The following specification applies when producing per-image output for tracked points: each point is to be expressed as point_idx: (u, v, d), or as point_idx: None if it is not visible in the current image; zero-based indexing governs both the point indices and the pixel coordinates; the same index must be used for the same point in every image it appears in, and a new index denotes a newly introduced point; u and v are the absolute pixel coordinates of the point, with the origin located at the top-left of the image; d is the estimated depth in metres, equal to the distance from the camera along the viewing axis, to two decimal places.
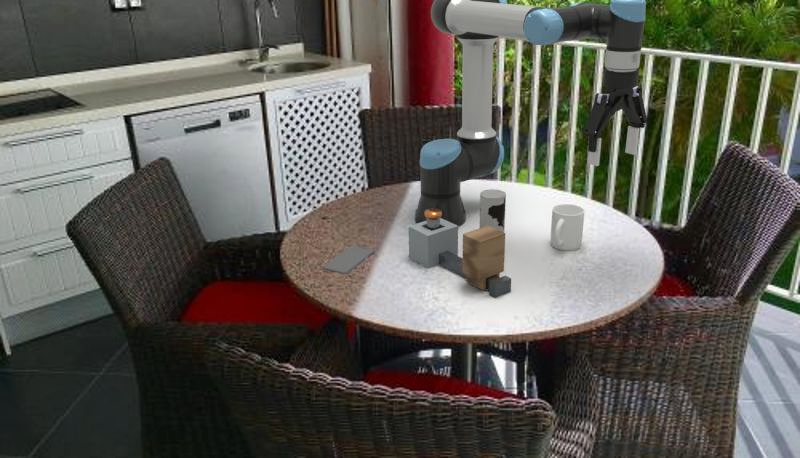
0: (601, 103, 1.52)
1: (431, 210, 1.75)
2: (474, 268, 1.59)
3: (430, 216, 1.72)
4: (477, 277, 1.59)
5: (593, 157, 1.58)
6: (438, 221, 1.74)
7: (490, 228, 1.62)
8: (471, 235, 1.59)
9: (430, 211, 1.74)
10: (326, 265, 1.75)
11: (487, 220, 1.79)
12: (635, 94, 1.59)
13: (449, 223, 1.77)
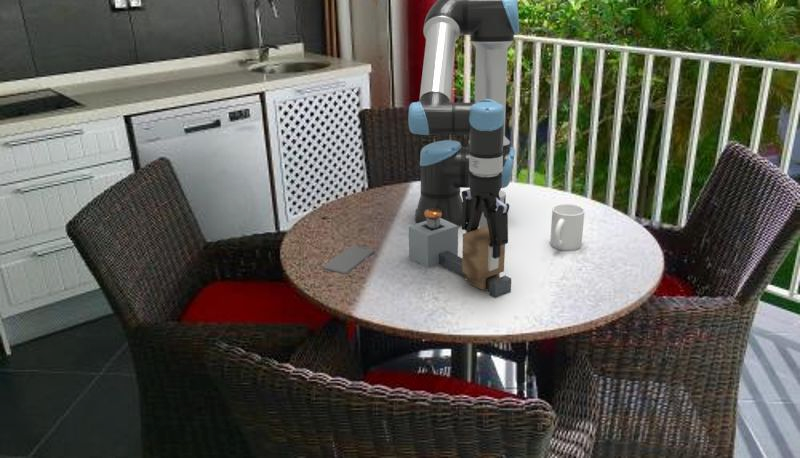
0: None
1: (431, 210, 1.75)
2: (474, 268, 1.59)
3: (430, 216, 1.72)
4: (477, 277, 1.59)
5: None
6: (438, 221, 1.74)
7: None
8: (471, 235, 1.59)
9: (430, 211, 1.74)
10: (326, 265, 1.75)
11: None
12: None
13: (449, 223, 1.77)
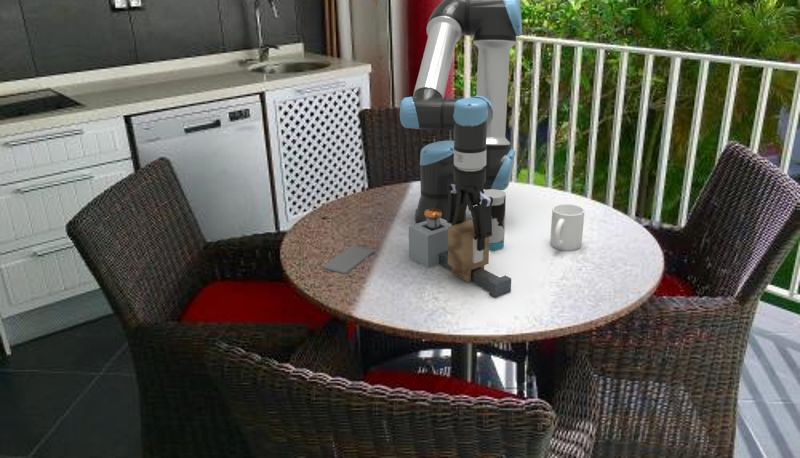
0: None
1: (431, 210, 1.75)
2: (459, 260, 1.63)
3: (430, 216, 1.72)
4: (462, 269, 1.63)
5: None
6: (438, 221, 1.74)
7: None
8: (456, 228, 1.63)
9: (430, 211, 1.74)
10: (326, 265, 1.75)
11: None
12: (481, 202, 1.57)
13: (449, 223, 1.77)
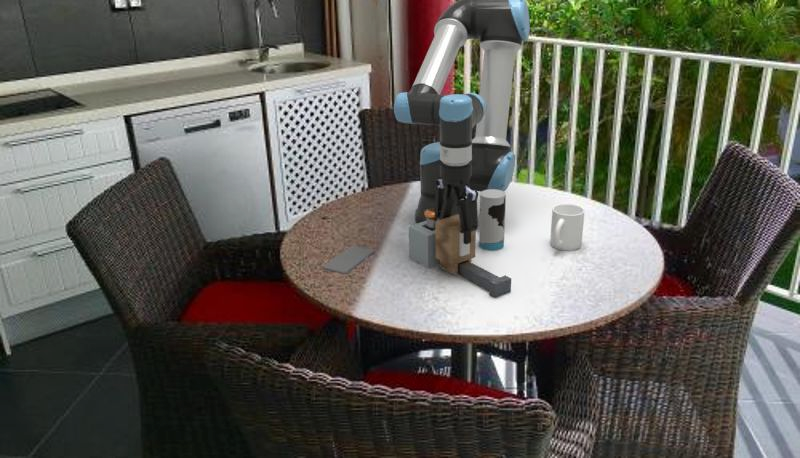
0: None
1: (431, 210, 1.75)
2: (446, 254, 1.67)
3: (430, 216, 1.72)
4: (449, 262, 1.67)
5: None
6: None
7: None
8: (443, 222, 1.67)
9: (430, 211, 1.74)
10: (326, 265, 1.75)
11: (487, 220, 1.79)
12: (467, 196, 1.60)
13: None
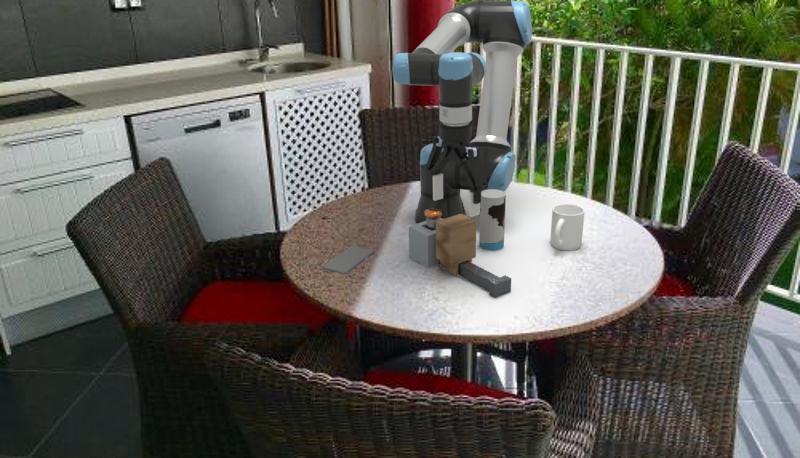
0: None
1: (431, 210, 1.75)
2: (447, 254, 1.67)
3: (430, 216, 1.72)
4: (449, 262, 1.67)
5: None
6: None
7: (462, 216, 1.70)
8: (444, 222, 1.66)
9: (430, 211, 1.74)
10: (326, 265, 1.75)
11: (487, 220, 1.79)
12: None
13: None
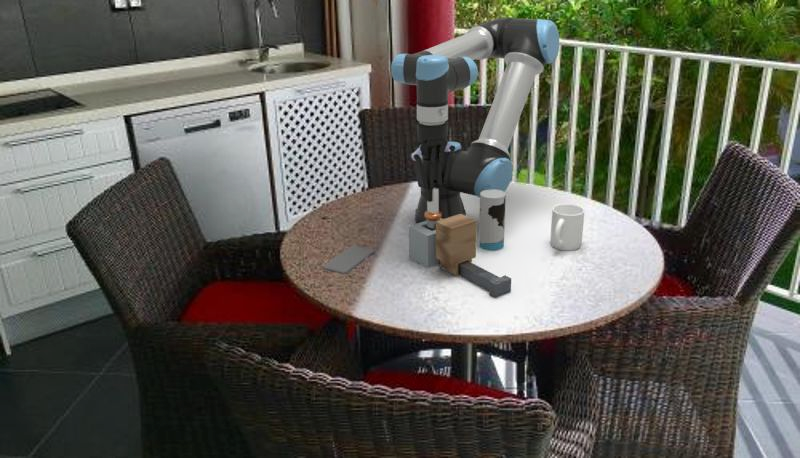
0: (417, 162, 1.65)
1: None
2: (447, 254, 1.67)
3: (430, 217, 1.72)
4: (449, 262, 1.67)
5: (431, 206, 1.73)
6: None
7: (462, 216, 1.70)
8: (444, 222, 1.66)
9: (430, 213, 1.74)
10: (326, 265, 1.76)
11: (487, 220, 1.79)
12: (447, 149, 1.69)
13: None
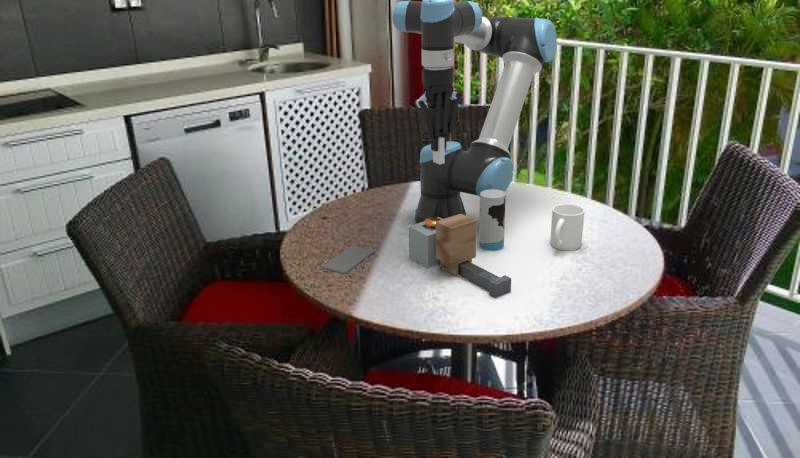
0: (422, 109, 1.60)
1: (431, 219, 1.76)
2: (447, 254, 1.67)
3: (430, 225, 1.73)
4: (449, 262, 1.67)
5: (436, 156, 1.68)
6: None
7: (462, 216, 1.70)
8: (444, 222, 1.66)
9: (430, 220, 1.75)
10: (326, 265, 1.76)
11: (487, 220, 1.79)
12: (453, 97, 1.65)
13: None
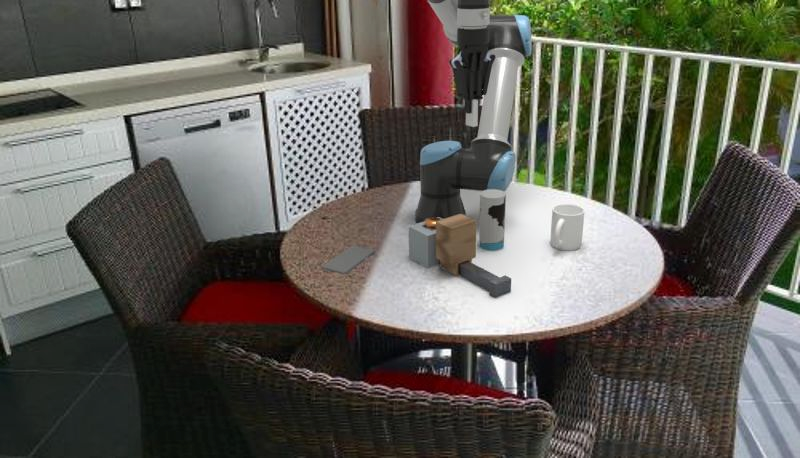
0: (457, 69, 1.59)
1: (431, 219, 1.76)
2: (447, 254, 1.67)
3: (430, 225, 1.73)
4: (449, 262, 1.67)
5: (470, 118, 1.67)
6: None
7: (462, 216, 1.70)
8: (444, 222, 1.66)
9: (430, 220, 1.75)
10: (326, 265, 1.76)
11: (487, 220, 1.79)
12: (487, 58, 1.64)
13: None
